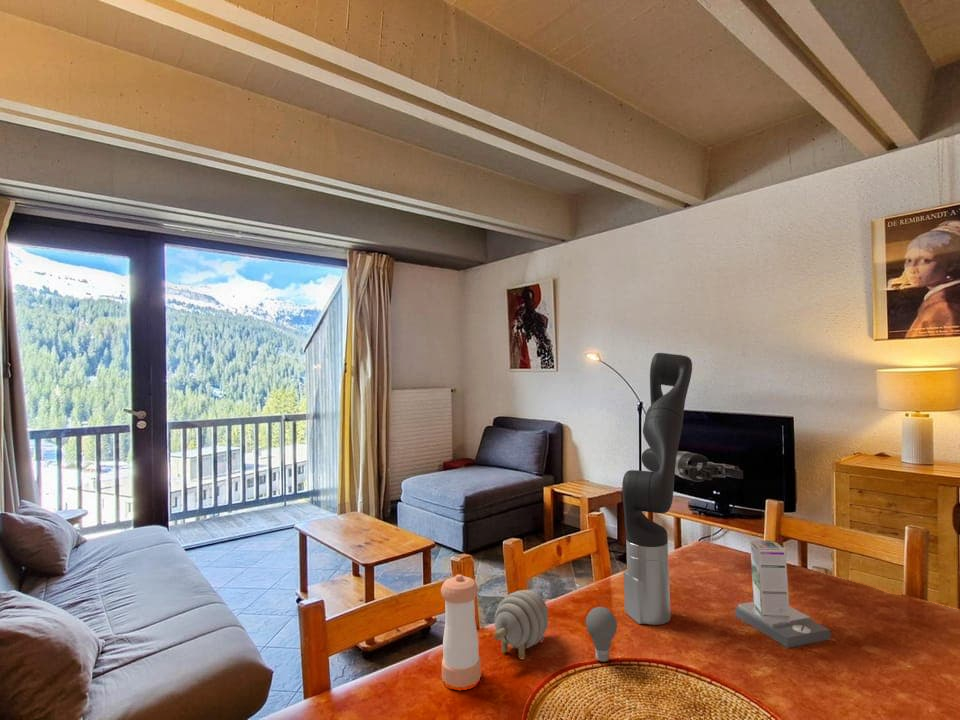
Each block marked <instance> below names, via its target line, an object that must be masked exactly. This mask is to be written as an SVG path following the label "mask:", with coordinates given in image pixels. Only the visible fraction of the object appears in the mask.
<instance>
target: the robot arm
mask: <svg viewBox="0 0 960 720" xmlns="http://www.w3.org/2000/svg"><path fill="white" fill-rule="evenodd" d="M649 369H650V370H649V389H650V390H649V391H650V406H649V407H648V409H647V410H646V414H645V418H644V422H643V427H642V433H643V437H644V439H645V442H646V444H647V445H648V447H649V448H647V449H645V450H644V451H643V452H642V454H641V464H642V465H643V466H644V468H646V469H647V470H639V469H638V470H636V469H635V470H634V469H631V470H627V471H626V472H625V473H624V475H623V478H622V485H621V486H622V487H621V488H622V489H621V490H622V492H621V493H622V504H623V514H624V529H625V541H626V542H625V543H626V570H625V571H623V591H624V592H623V593H624V597H623V598H624V612H625V614H626V615H628V616H629V617H630V618H631V619H632V620H633V621H635V622H636V623H637V624H639V625H641V624H642V625H643V624H645V625H653V626H655V625H656V626H657V625H665V624H666V623H669V621H671V599H670V598H671V596H670V595H671V593H670V569H669V545H668V544H669V542H668V541H669V537H668V535H669V534H668V531H667V529H666V528H665V527H664V526H662V525H660V524H658V523H657V522H654V521H653V520H652V519H650V518H648V517H647V516H646V515H645V514H644V513H643V512H645V513H646V512H648V513H653V514H666V513H668V512H669V511H670V509H671V507H672V503H673V499H674V488H675V479H676V478H675V475H676V476H678V477H679V478H682V479H685V480H689V481H692V482H696V483H697V482H698V483H699V482H704V481H705V480H706V481H712V480H713V478H721V479H724V478H726V477H728V478H735V479H738V480H743V478H744V471H743V470H742V469H740V467H739V466H737V465H733V464H726V463H714V461H713V462H712V461H709V459H708V458H707V457H706V456H705V455H702V454H700V453H695V452H689V451H681V450H679V444H680V440H681V435H682V431H683V430H682V429H683V421H684V415H685V403H686V399H687V395H688V390H689V386H690V382H691V378H692V373H693V361H692V359H691V358H690V357H689V356H688V355H683V354H674V353H665V352H657V353H654V355H653V357H652V359H651V363H650V367H649ZM662 386H667V387H672V388H671V389H670V390H669V391H668V392H666V394H664V393H663V390H662ZM719 472H720V474H719Z"/></svg>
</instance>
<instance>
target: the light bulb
mask: <svg viewBox="0 0 960 720" xmlns="http://www.w3.org/2000/svg"><path fill="white" fill-rule="evenodd" d="M585 626H586V629H587V632H588V634H589V635H590V637H591V639H592V641H593V642H592V643H593V646H594V648H595V659H596V660H597V661H600V662H607V661H609V660H610V648H611V645H612V641H613V639H614V637H615V635H616V633H617V630H618V621H617V619H616V617H615V615H614V613H613V612H612V611H611V610H610V609H608V608H606V607H604V606H596V607H594V608H592V609H591V610H590V611H589V612H588V613H587V616H586V619H585Z"/></svg>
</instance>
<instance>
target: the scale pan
mask: <svg viewBox="0 0 960 720" xmlns="http://www.w3.org/2000/svg"><path fill="white" fill-rule="evenodd" d="M737 607H738V608H740V609H741V610H743V611H745V612H747V613H748V614H750V615H752V616H753V617H755V618H757V619H758V620H760V621H762V622H763V623H765V624H767V625H769V626H770V627H772V628H775V627H781V626H786V625H792V624H797V623H802V622H808V621H811V620H812V617H811V616H809V615H808V614H805V613H803V612H801V611H799V610H797V609H796V608H794V607H792V606H790V605H789V614H790V616H789V617H788V616H769V615H762V614H761V612H760V611H759V610H758V608H757V607H756V606H755V605H754V601H750V602H749V601H748V602H743V603H738V604H737Z"/></svg>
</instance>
